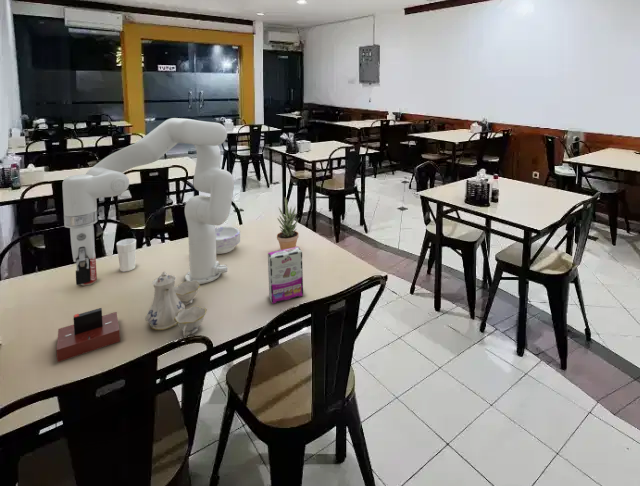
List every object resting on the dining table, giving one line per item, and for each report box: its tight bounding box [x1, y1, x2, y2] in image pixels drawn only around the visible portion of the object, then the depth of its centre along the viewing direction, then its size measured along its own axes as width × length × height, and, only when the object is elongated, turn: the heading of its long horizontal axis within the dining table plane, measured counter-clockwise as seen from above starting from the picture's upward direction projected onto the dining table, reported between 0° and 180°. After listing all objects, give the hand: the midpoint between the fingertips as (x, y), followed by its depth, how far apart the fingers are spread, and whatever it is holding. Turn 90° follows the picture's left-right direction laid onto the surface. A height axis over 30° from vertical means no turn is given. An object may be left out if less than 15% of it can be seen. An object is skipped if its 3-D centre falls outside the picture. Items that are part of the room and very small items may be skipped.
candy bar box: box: [267, 246, 304, 305], centre depth 134 cm, size 11×5×16 cm, turn 117°
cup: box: [116, 238, 137, 272], centre depth 154 cm, size 7×7×11 cm
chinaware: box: [144, 271, 208, 338], centre depth 122 cm, size 28×17×17 cm, turn 35°
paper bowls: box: [215, 226, 241, 255], centre depth 172 cm, size 15×15×8 cm
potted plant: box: [276, 197, 300, 250], centre depth 171 cm, size 10×10×25 cm
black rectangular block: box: [73, 307, 103, 335], centre depth 111 cm, size 6×2×5 cm, turn 127°
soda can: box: [79, 255, 98, 287], centre depth 143 cm, size 5×5×12 cm
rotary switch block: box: [56, 311, 121, 363], centre depth 111 cm, size 14×11×4 cm
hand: (83, 276), depth 111 cm, fingers open, 9 cm apart
